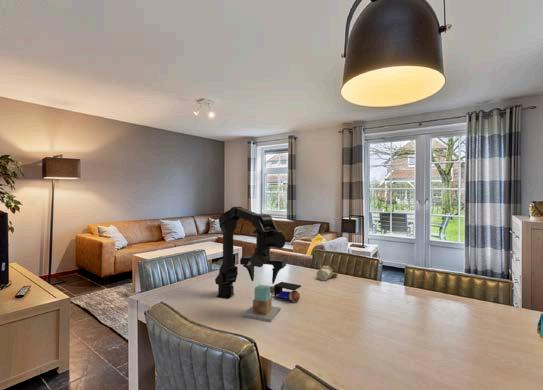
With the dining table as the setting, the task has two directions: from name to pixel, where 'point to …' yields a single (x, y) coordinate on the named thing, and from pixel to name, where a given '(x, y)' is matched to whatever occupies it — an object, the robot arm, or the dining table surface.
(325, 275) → the ceramic sculpture
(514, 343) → the dining table surface
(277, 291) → the figurine character
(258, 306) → the walnut block
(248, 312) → the base plate
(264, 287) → the teal block
